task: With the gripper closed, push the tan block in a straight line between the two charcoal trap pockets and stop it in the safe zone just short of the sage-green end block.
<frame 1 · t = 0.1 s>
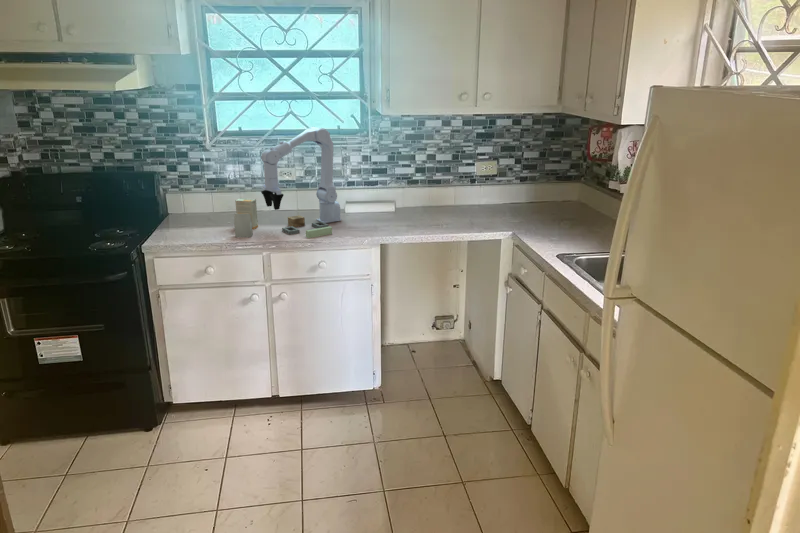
hand: (273, 207, 269), 10 cm above the countertop, tool pointing down, fingers open, 7 cm apart
tan block: (296, 225, 280), on the countertop
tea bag: (244, 236, 262), on the countertop
trap pockets: (305, 229, 273), on the countertop
supplement box: (247, 228, 275), on the countertop
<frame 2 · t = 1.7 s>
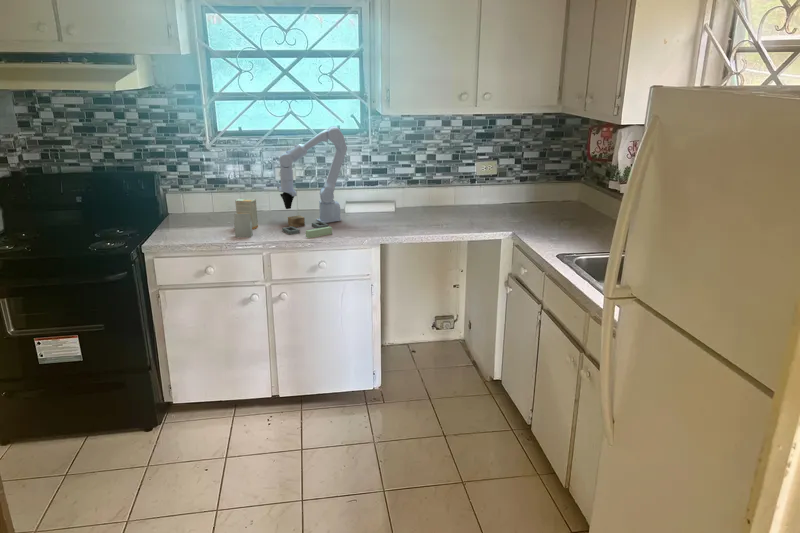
hand: (288, 208, 283), 6 cm above the countertop, tool pointing down, fingers closed
nothing on the countertop moved.
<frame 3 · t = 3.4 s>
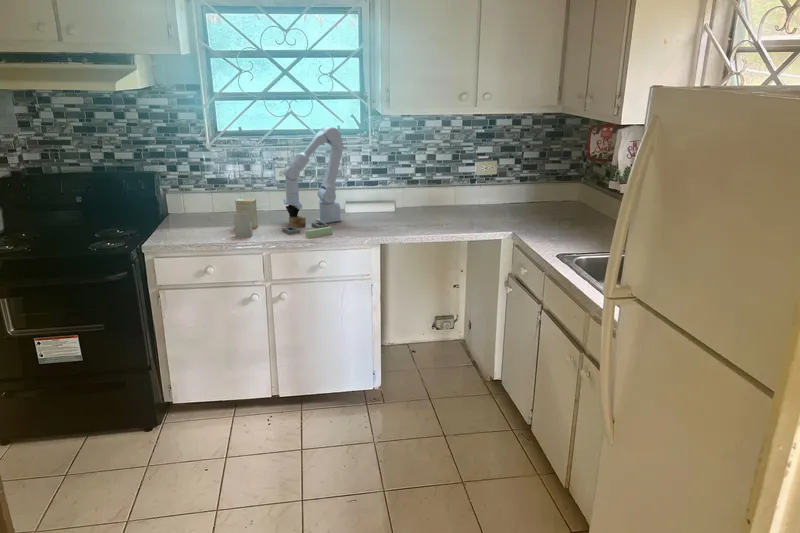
hand: (293, 221, 281), 1 cm above the countertop, tool pointing down, fingers closed
tan block: (297, 225, 279), on the countertop, touching gripper
everything else where it was.
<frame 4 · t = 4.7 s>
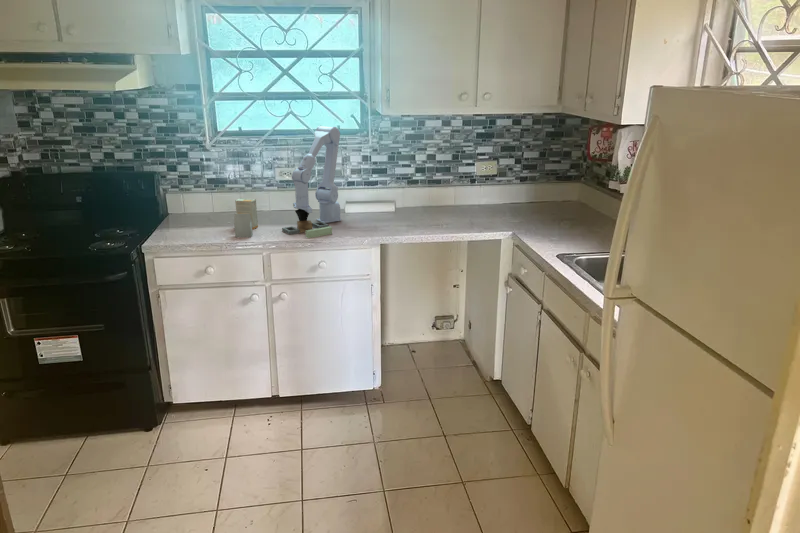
hand: (303, 225, 274), 1 cm above the countertop, tool pointing down, fingers closed
tan block: (304, 230, 271), on the countertop, touching gripper, trap pockets
everything else where it was.
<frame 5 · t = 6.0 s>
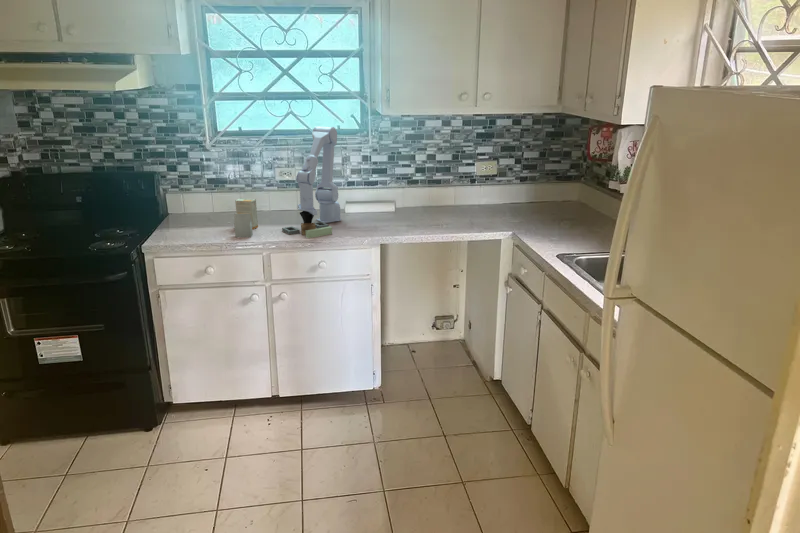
hand: (307, 227, 271), 1 cm above the countertop, tool pointing down, fingers closed
tan block: (308, 233, 267), on the countertop, touching gripper
everything else where it was.
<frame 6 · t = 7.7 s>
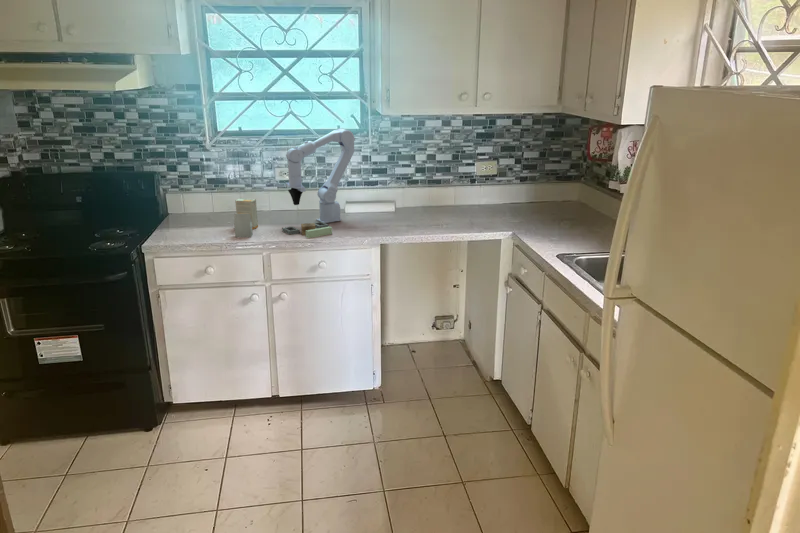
hand: (296, 204, 279), 9 cm above the countertop, tool pointing down, fingers closed
tan block: (308, 233, 267), on the countertop
everything else where it was.
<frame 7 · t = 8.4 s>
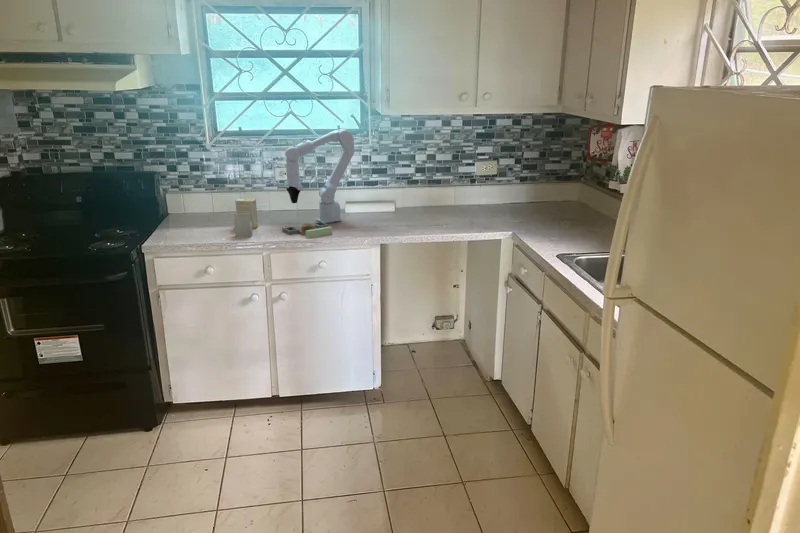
hand: (294, 202, 281), 9 cm above the countertop, tool pointing down, fingers closed
nothing on the countertop moved.
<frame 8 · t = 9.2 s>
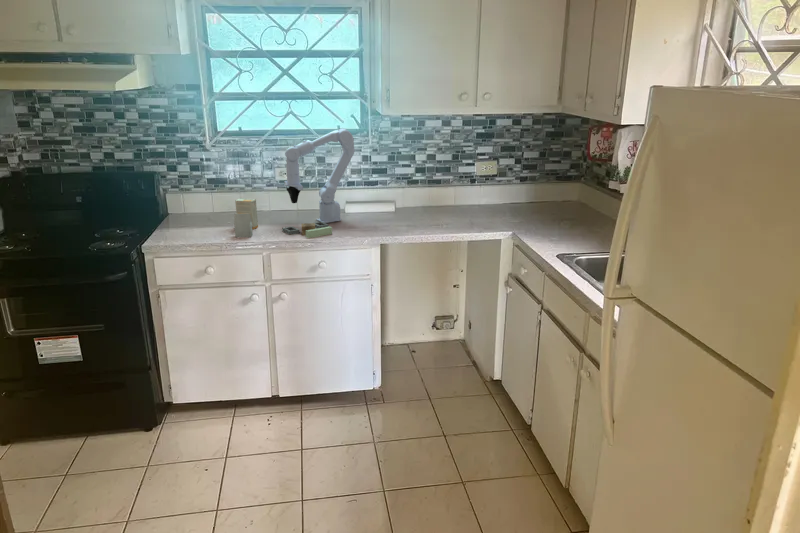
hand: (294, 202, 281), 9 cm above the countertop, tool pointing down, fingers closed
nothing on the countertop moved.
at the end: tan block 2.1 cm from the target spot, on the countertop; tan block tilted 0° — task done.
